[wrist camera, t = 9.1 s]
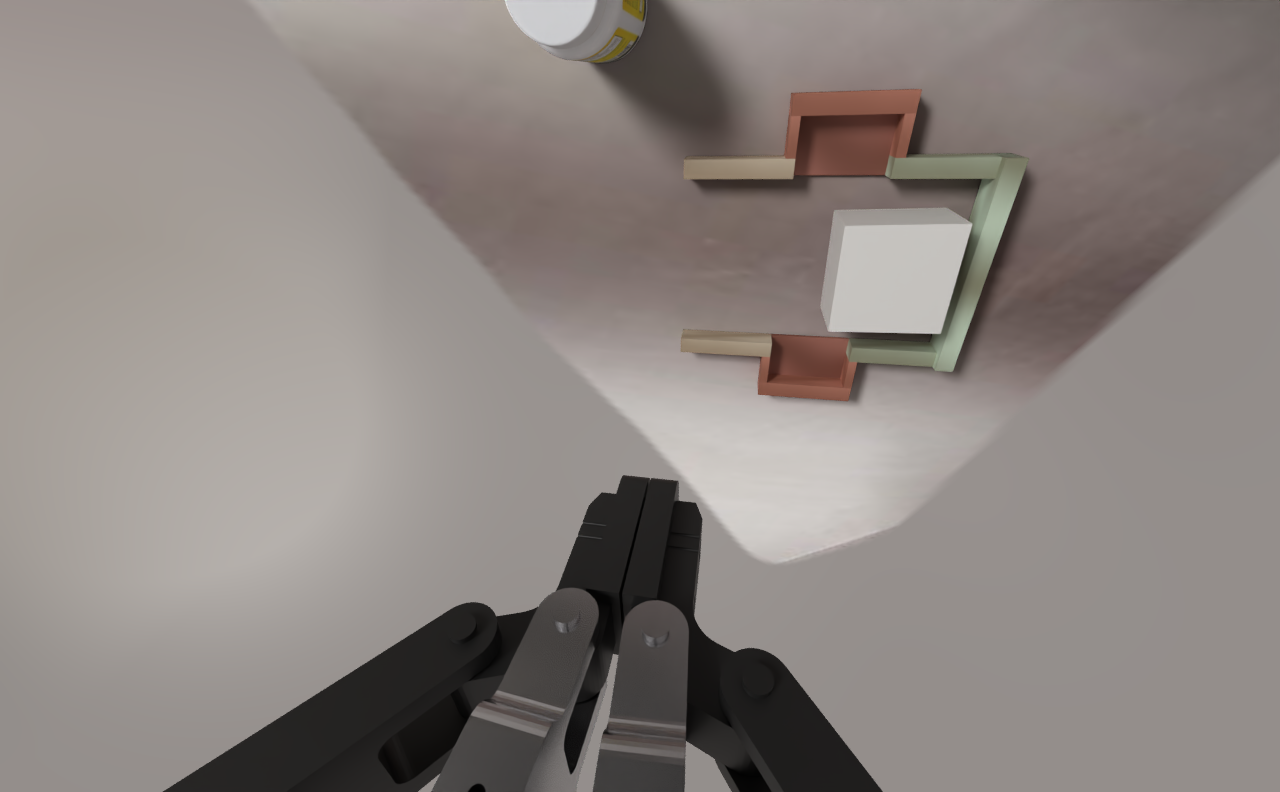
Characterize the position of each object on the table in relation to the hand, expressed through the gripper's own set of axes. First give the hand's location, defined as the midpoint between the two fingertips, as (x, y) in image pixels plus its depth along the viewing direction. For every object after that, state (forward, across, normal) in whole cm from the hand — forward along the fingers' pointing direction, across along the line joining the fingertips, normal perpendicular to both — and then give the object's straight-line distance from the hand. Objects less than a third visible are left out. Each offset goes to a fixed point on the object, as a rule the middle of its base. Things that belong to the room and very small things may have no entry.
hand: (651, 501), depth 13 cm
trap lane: (+22, -7, 0) cm, 23 cm away
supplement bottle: (+22, +6, -13) cm, 26 cm away
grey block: (+22, -10, 0) cm, 24 cm away
